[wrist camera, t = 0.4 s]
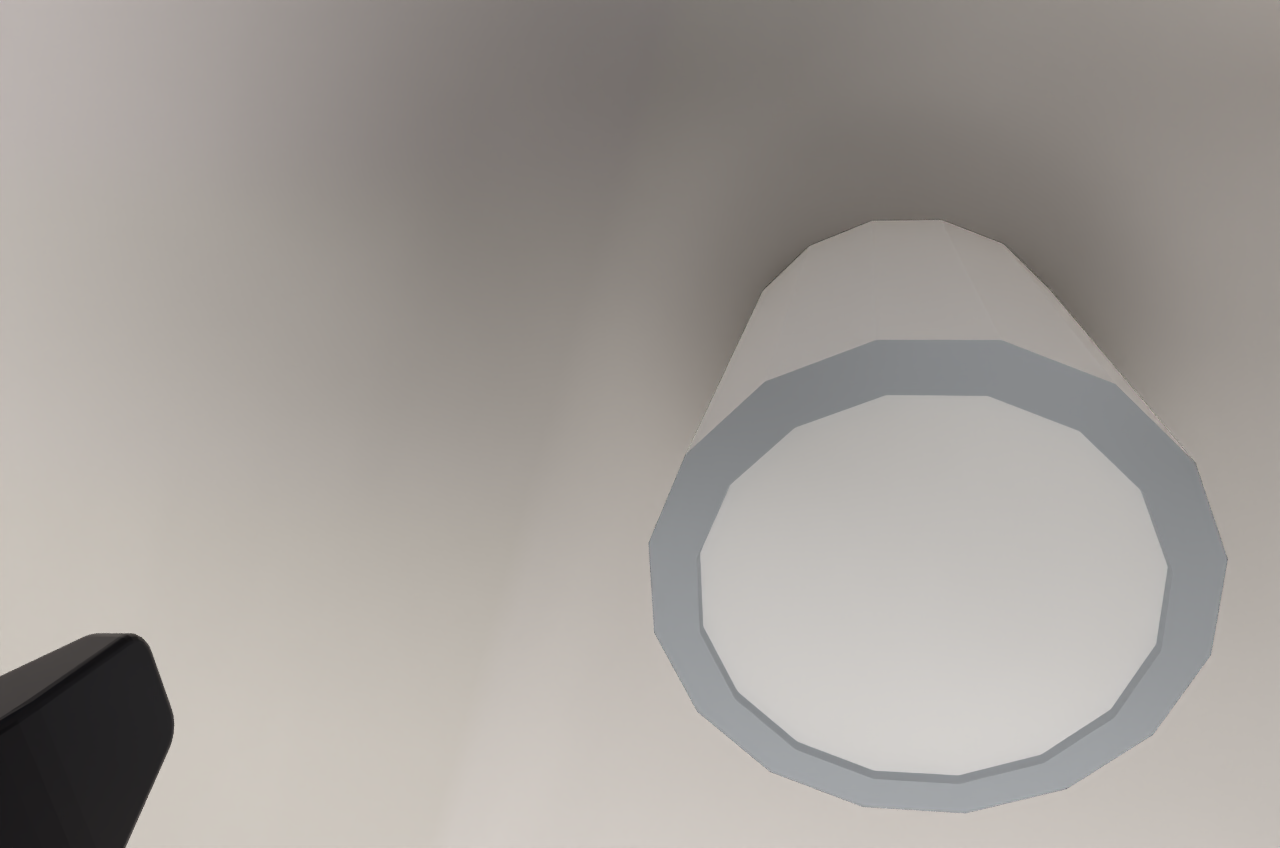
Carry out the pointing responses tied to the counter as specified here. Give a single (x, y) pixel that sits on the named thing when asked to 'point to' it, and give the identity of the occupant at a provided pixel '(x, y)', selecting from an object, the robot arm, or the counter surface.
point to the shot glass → (931, 534)
